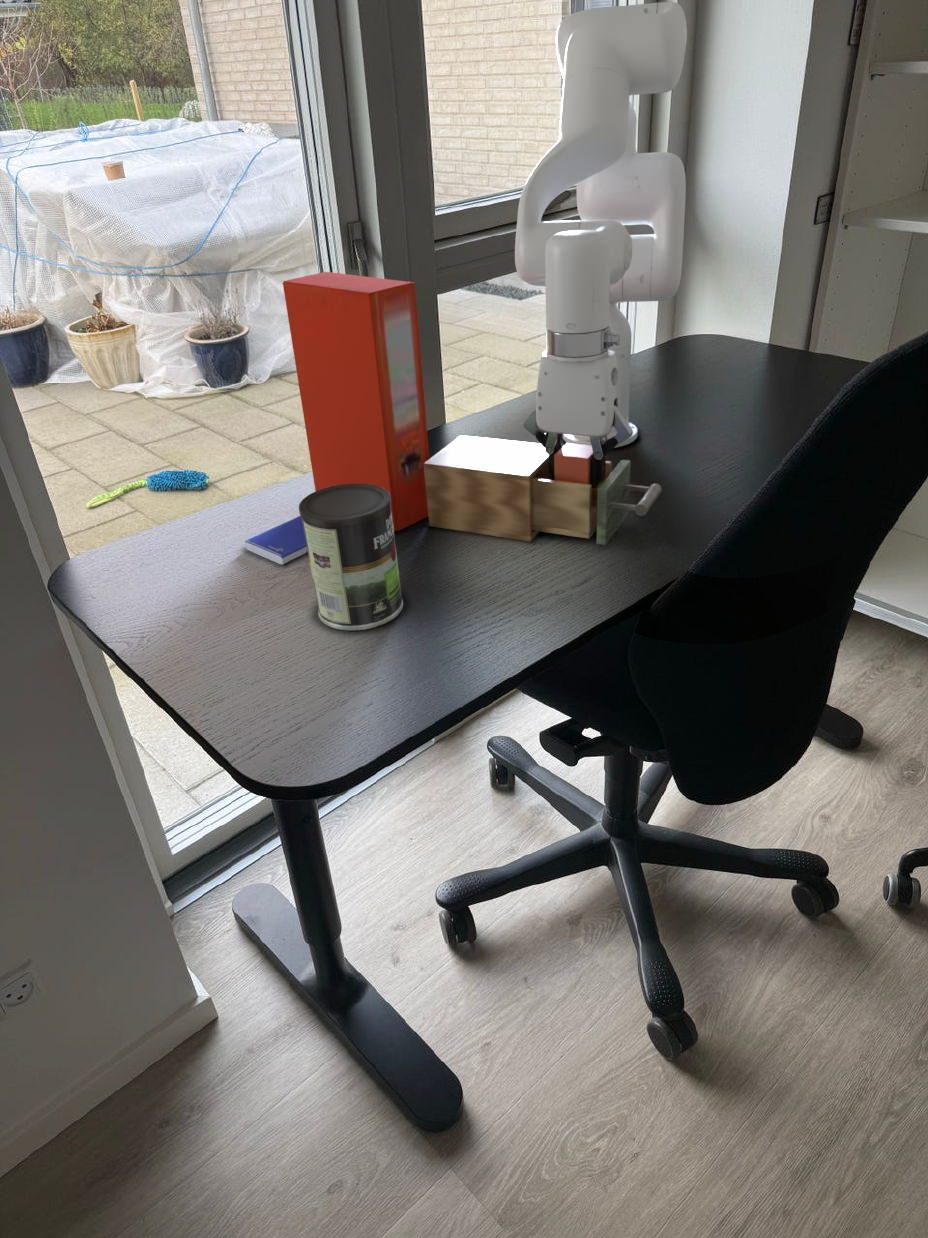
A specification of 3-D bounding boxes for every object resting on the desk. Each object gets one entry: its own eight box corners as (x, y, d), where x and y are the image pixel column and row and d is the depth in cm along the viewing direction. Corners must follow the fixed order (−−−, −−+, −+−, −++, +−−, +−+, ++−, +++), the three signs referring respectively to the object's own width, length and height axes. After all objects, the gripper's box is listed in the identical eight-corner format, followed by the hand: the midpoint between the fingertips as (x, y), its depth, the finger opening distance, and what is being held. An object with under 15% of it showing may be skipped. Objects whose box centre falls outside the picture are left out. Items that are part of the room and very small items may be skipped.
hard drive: (281, 555, 115) (351, 521, 122) (244, 539, 119) (313, 507, 127) (283, 565, 115) (352, 531, 123) (246, 549, 120) (315, 517, 128)
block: (566, 474, 118) (566, 442, 116) (599, 478, 116) (599, 445, 114) (554, 487, 115) (554, 454, 112) (587, 491, 113) (588, 458, 110)
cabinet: (560, 507, 125) (560, 445, 120) (530, 541, 117) (528, 476, 112) (464, 494, 131) (460, 434, 126) (429, 526, 123) (423, 463, 118)
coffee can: (412, 588, 108) (400, 482, 101) (391, 633, 99) (377, 521, 92) (332, 585, 110) (315, 481, 102) (306, 629, 101) (285, 519, 94)
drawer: (663, 517, 118) (666, 464, 114) (641, 550, 111) (644, 494, 106) (531, 500, 126) (530, 449, 122) (503, 529, 118) (500, 476, 114)
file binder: (357, 486, 137) (327, 270, 120) (435, 512, 126) (414, 280, 110) (317, 503, 132) (280, 281, 115) (394, 532, 122) (366, 293, 105)
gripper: (654, 337, 105) (647, 478, 115) (524, 331, 112) (528, 465, 122) (636, 354, 100) (630, 501, 109) (501, 346, 106) (507, 485, 116)
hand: (576, 480), depth 115 cm, fingers closed on block, 4 cm apart
